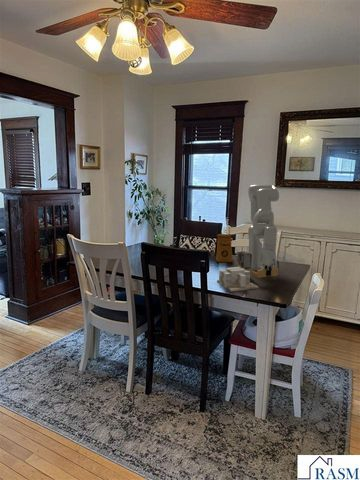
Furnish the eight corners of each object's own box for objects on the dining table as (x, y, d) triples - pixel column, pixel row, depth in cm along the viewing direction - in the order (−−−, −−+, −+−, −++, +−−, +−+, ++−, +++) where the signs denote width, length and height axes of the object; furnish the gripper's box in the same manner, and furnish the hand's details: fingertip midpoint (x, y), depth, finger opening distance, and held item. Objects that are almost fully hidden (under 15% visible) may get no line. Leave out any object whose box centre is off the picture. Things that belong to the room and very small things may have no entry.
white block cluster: (216, 281, 208) (217, 267, 206) (242, 279, 214) (242, 265, 212) (231, 291, 190) (231, 275, 188) (258, 288, 196) (259, 273, 194)
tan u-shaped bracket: (247, 271, 213) (247, 265, 212) (266, 269, 218) (266, 263, 217) (258, 277, 201) (258, 270, 200) (277, 275, 206) (278, 268, 205)
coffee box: (251, 277, 217) (252, 254, 214) (243, 278, 215) (244, 254, 212) (243, 274, 225) (244, 251, 223) (235, 275, 223) (236, 251, 220)
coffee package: (232, 263, 254) (233, 235, 250) (215, 262, 255) (216, 234, 251) (231, 260, 263) (232, 233, 259) (216, 259, 265) (216, 232, 261)
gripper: (257, 244, 206) (255, 272, 210) (271, 250, 192) (269, 280, 196) (267, 243, 209) (265, 271, 213) (282, 249, 194) (280, 278, 198)
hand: (267, 275), depth 204 cm, fingers closed on tan u-shaped bracket, 1 cm apart
